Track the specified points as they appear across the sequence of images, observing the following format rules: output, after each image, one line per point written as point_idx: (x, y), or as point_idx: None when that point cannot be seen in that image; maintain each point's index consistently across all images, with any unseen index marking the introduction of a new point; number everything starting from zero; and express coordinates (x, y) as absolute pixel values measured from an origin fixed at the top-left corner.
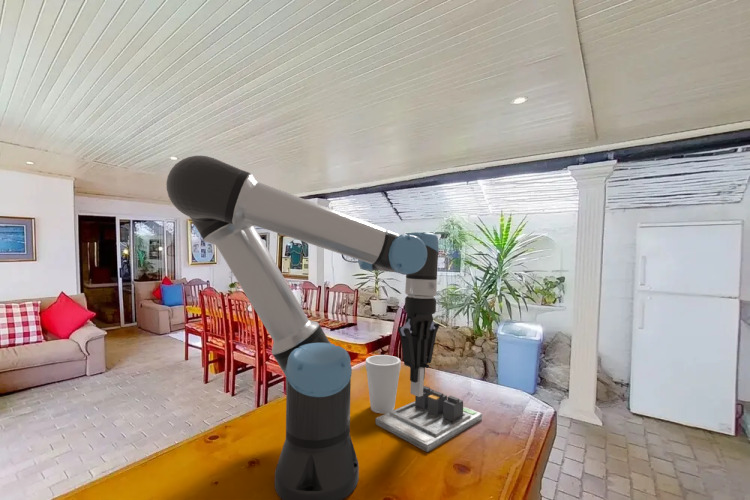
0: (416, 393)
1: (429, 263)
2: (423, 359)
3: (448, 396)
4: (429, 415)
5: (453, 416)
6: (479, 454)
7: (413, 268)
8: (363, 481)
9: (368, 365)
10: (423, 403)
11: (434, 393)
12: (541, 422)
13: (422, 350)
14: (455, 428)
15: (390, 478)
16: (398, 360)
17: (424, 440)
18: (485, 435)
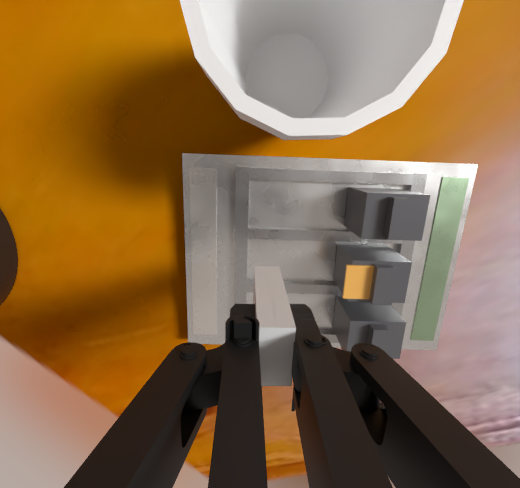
0: (253, 300)
1: None
2: (298, 424)
3: (378, 330)
4: (322, 259)
5: (336, 335)
6: (270, 403)
7: None
8: (12, 310)
9: None
10: (349, 227)
11: (374, 277)
12: (502, 432)
13: (312, 476)
14: None
15: (64, 337)
16: (395, 90)
17: (197, 329)
18: None
